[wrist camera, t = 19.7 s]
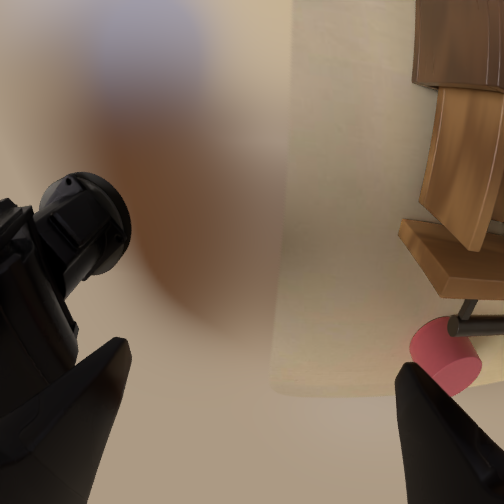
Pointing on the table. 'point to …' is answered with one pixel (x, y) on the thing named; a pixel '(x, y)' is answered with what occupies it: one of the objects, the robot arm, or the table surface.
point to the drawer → (463, 207)
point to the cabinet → (459, 44)
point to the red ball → (445, 356)
